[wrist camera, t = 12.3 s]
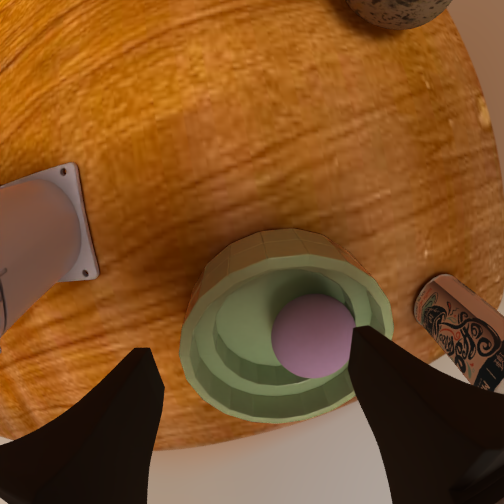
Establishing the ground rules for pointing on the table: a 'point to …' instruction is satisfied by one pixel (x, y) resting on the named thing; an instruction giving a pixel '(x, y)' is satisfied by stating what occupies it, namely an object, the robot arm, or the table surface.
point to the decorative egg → (398, 12)
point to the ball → (313, 335)
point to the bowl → (271, 324)
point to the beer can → (464, 330)
